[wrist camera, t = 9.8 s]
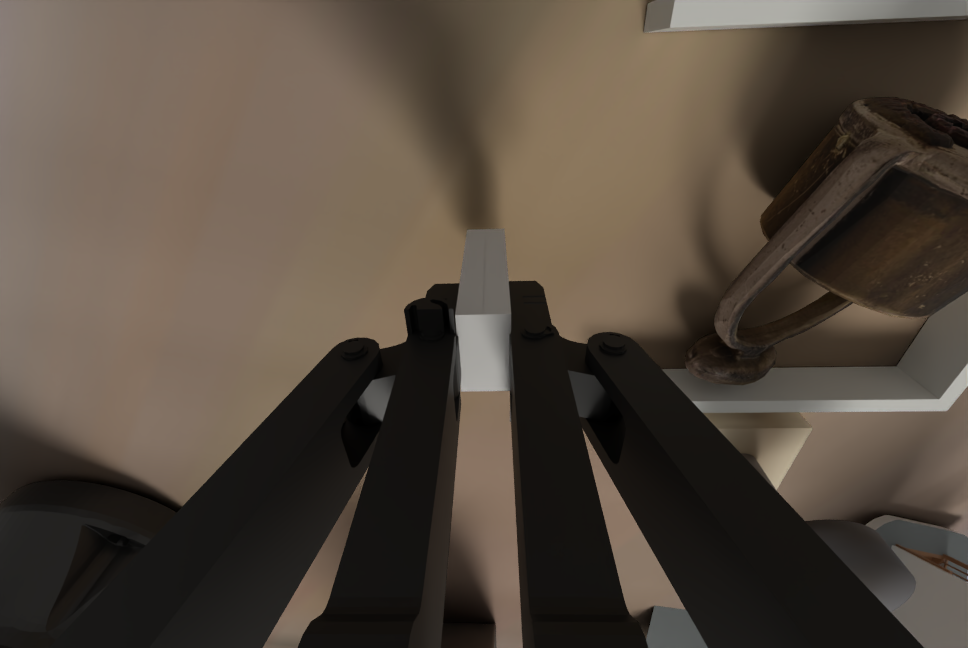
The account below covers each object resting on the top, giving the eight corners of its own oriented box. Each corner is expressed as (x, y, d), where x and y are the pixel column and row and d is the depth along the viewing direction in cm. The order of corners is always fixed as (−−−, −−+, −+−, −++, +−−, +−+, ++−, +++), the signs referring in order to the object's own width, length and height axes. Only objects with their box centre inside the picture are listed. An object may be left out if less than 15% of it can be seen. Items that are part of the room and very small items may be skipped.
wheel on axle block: (652, 473, 27) (721, 655, 19) (676, 395, 23) (776, 581, 15) (760, 473, 27) (878, 657, 18) (802, 394, 23) (975, 583, 15)
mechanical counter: (737, 72, 11) (1077, -22, 11) (627, 282, 23) (794, 235, 23) (904, 297, 9) (1348, 171, 9) (682, 404, 20) (871, 350, 21)
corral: (591, 380, 23) (601, 413, 20) (647, 3, 14) (676, -8, 11) (903, 377, 22) (946, 411, 20) (1181, -20, 13) (1314, -36, 11)
